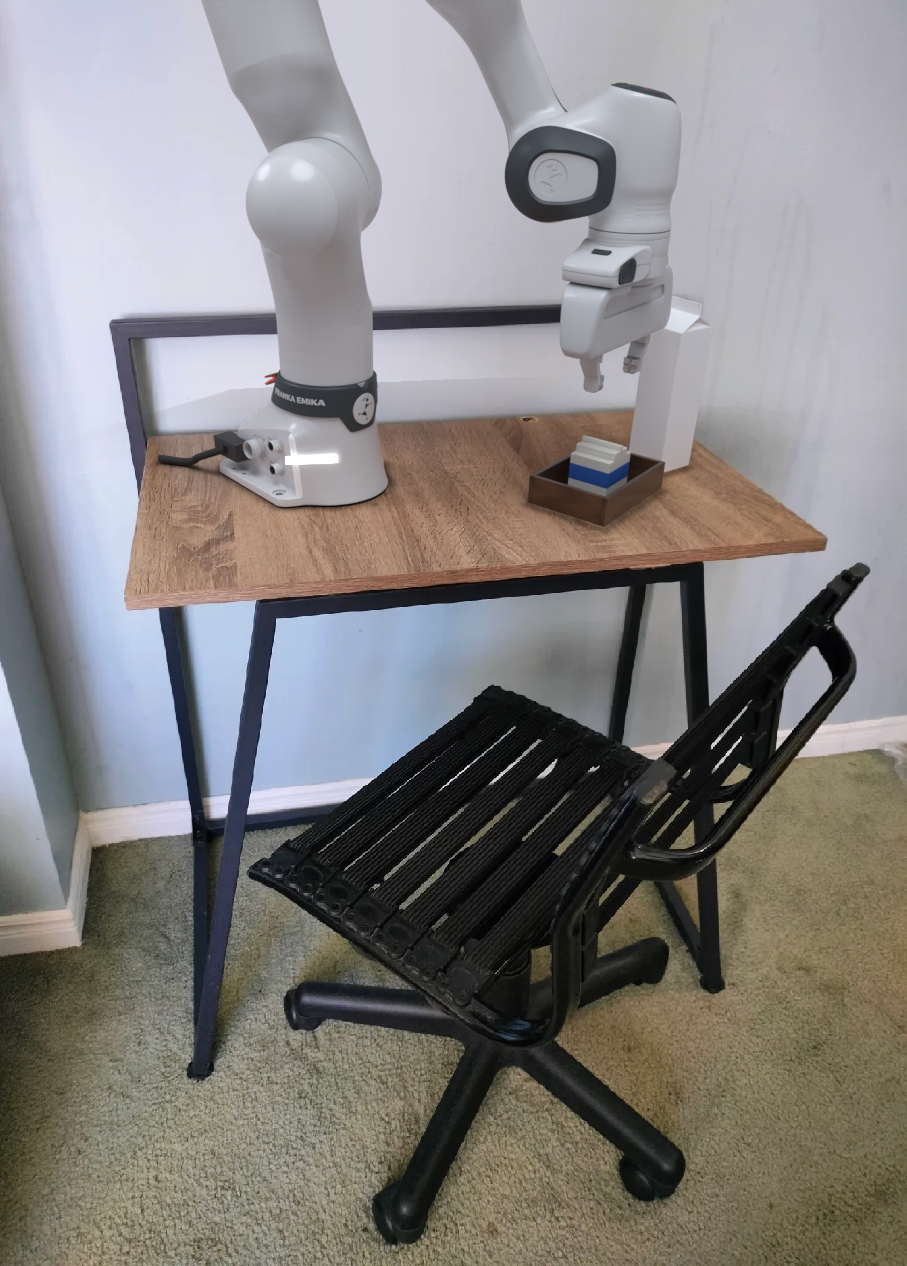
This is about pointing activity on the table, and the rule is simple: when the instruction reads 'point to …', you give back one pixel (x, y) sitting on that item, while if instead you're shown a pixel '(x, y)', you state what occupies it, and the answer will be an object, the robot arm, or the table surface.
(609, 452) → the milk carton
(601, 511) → the box
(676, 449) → the milk
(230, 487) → the table surface
